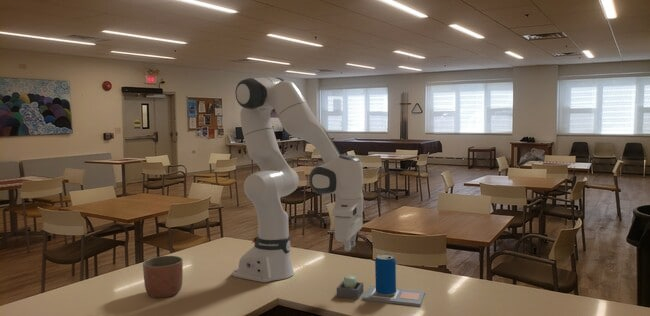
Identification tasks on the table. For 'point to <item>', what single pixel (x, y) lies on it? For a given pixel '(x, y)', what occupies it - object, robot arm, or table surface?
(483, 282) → the table surface
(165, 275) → the planter
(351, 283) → the button
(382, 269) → the beverage can
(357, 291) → the button housing
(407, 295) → the picture board
